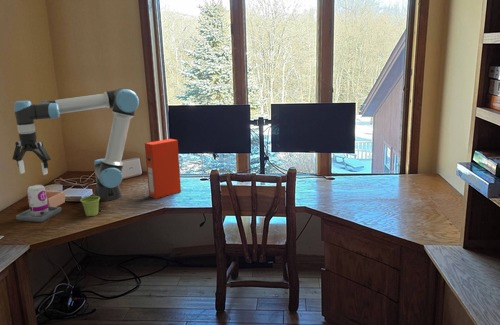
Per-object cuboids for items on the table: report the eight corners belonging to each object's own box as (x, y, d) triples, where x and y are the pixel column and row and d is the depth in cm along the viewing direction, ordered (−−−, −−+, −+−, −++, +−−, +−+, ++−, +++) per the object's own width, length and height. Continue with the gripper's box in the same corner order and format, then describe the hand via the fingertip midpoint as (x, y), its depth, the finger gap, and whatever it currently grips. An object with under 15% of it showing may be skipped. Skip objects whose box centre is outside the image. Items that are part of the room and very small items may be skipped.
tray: (61, 211, 217) (61, 207, 216) (42, 222, 202) (41, 217, 202) (37, 209, 220) (37, 205, 219) (16, 220, 206) (15, 215, 205)
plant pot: (90, 219, 206) (88, 203, 204) (78, 215, 211) (76, 199, 208) (105, 213, 213) (103, 197, 211) (93, 209, 218) (92, 194, 216)
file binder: (148, 195, 240) (144, 142, 232) (173, 189, 251) (170, 138, 243) (156, 199, 234) (152, 144, 226) (180, 192, 246) (177, 140, 238)
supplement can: (52, 212, 213) (48, 185, 210) (39, 218, 206) (35, 190, 202) (40, 210, 216) (36, 183, 212) (27, 216, 209) (23, 188, 205)
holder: (65, 201, 232) (64, 191, 230) (50, 209, 219) (48, 199, 218) (46, 200, 234) (44, 190, 233) (29, 208, 222) (27, 197, 221)
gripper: (54, 131, 201) (60, 172, 206) (11, 130, 206) (18, 170, 212) (43, 134, 194) (50, 176, 199) (-1, 133, 199) (7, 174, 205)
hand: (34, 173), depth 206 cm, fingers open, 13 cm apart
